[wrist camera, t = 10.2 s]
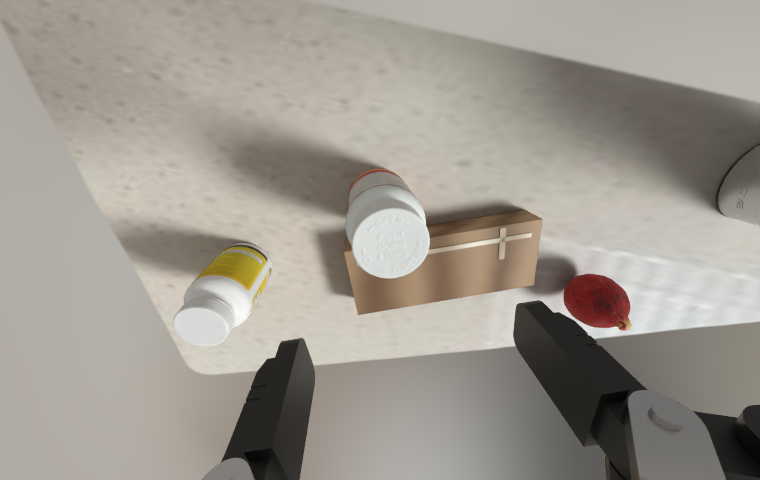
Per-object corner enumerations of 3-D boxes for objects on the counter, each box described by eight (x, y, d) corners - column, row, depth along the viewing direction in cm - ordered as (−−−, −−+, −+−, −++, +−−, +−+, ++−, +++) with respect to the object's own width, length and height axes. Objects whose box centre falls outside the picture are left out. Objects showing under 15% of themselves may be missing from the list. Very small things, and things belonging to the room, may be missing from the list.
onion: (541, 279, 34) (592, 324, 26) (584, 253, 33) (650, 292, 25) (557, 307, 36) (608, 355, 29) (598, 284, 35) (662, 328, 28)
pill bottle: (397, 231, 29) (421, 293, 19) (342, 218, 28) (334, 277, 18) (415, 175, 27) (453, 213, 17) (355, 159, 26) (355, 189, 15)
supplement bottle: (213, 244, 28) (148, 304, 19) (265, 238, 28) (224, 294, 19) (230, 287, 30) (179, 357, 22) (278, 281, 31) (247, 348, 22)
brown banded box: (525, 209, 29) (543, 219, 27) (519, 271, 33) (534, 285, 30) (344, 239, 29) (343, 252, 26) (357, 298, 33) (358, 315, 30)
